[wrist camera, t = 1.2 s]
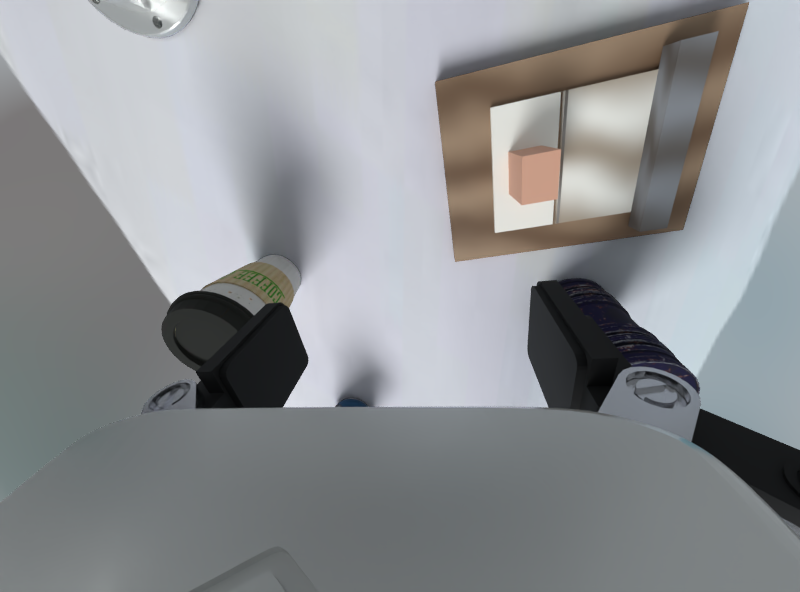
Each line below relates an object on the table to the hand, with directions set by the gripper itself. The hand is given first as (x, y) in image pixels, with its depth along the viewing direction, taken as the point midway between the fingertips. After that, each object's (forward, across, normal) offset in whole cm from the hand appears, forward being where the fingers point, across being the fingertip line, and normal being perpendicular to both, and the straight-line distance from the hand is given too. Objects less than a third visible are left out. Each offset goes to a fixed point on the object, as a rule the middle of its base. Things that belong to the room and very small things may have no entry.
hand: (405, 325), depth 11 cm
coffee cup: (+25, +22, +7) cm, 34 cm away
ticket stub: (+24, -10, -2) cm, 26 cm away
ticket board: (+26, -14, -2) cm, 29 cm away
